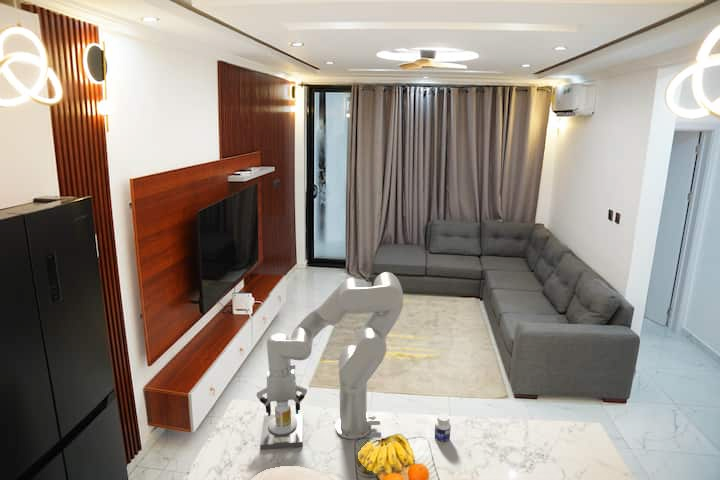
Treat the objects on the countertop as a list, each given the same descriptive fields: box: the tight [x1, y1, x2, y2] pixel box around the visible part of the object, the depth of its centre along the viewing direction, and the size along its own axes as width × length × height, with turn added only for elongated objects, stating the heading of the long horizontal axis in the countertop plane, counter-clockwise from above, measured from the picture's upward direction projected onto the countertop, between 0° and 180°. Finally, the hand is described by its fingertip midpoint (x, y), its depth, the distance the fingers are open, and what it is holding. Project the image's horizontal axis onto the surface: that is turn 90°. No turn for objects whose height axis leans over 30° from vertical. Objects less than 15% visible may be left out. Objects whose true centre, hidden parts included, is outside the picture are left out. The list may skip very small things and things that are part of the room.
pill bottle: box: [434, 413, 452, 445], centre depth 169 cm, size 5×5×9 cm
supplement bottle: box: [274, 400, 292, 428], centre depth 173 cm, size 5×5×10 cm
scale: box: [259, 412, 304, 451], centre depth 173 cm, size 14×16×3 cm
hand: (283, 412), depth 173 cm, fingers open, 9 cm apart
